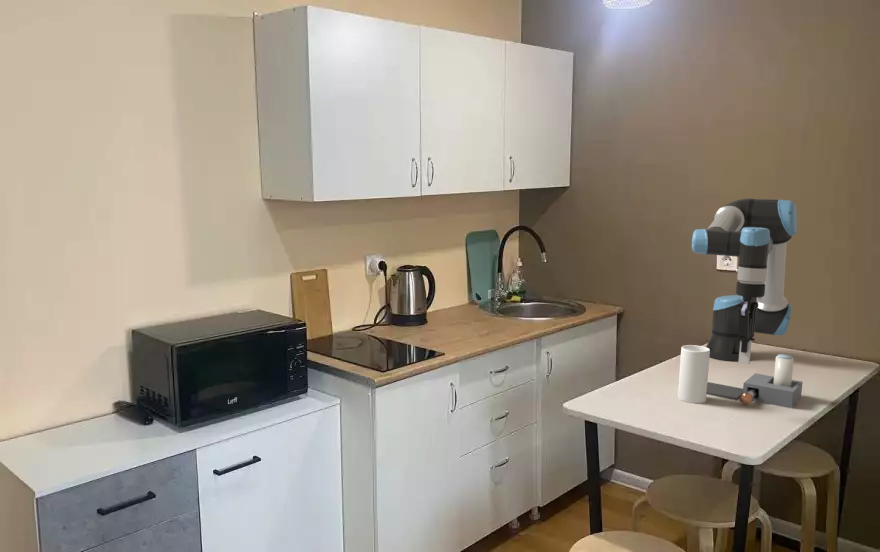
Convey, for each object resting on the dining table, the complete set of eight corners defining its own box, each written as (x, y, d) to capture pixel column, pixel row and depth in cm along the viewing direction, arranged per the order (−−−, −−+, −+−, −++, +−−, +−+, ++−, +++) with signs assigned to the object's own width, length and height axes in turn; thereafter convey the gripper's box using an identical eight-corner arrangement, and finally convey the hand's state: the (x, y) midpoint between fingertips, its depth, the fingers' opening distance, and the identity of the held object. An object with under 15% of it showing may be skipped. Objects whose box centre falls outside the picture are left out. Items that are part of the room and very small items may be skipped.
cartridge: (774, 394, 228) (778, 352, 226) (791, 397, 225) (795, 355, 223) (770, 398, 224) (774, 355, 222) (787, 401, 221) (792, 358, 219)
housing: (753, 388, 234) (755, 373, 234) (801, 397, 226) (802, 381, 225) (742, 398, 223) (743, 382, 222) (791, 408, 215) (793, 392, 214)
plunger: (748, 395, 224) (749, 384, 224) (759, 397, 222) (760, 387, 221) (739, 403, 216) (740, 392, 215) (751, 406, 214) (752, 395, 213)
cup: (702, 395, 225) (705, 345, 223) (709, 404, 217) (713, 352, 215) (675, 394, 226) (678, 344, 224) (681, 402, 218) (684, 350, 216)
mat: (708, 383, 238) (708, 382, 238) (746, 391, 231) (746, 389, 231) (696, 392, 229) (696, 390, 228) (736, 400, 221) (736, 398, 221)
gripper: (743, 278, 212) (736, 356, 215) (730, 282, 202) (724, 364, 205) (770, 281, 208) (763, 360, 211) (759, 285, 197) (751, 369, 201)
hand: (744, 362), depth 208 cm, fingers closed
